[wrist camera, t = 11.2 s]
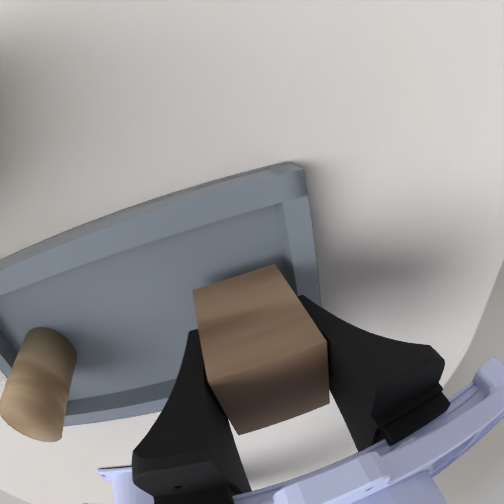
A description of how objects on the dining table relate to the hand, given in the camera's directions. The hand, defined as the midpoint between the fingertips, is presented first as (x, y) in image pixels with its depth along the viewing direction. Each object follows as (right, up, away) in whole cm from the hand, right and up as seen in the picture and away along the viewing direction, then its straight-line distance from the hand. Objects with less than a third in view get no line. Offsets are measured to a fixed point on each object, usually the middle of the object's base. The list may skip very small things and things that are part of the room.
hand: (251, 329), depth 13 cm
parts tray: (-7, 0, +2) cm, 7 cm away
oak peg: (-12, -2, +1) cm, 12 cm away
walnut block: (0, +1, +2) cm, 2 cm away
